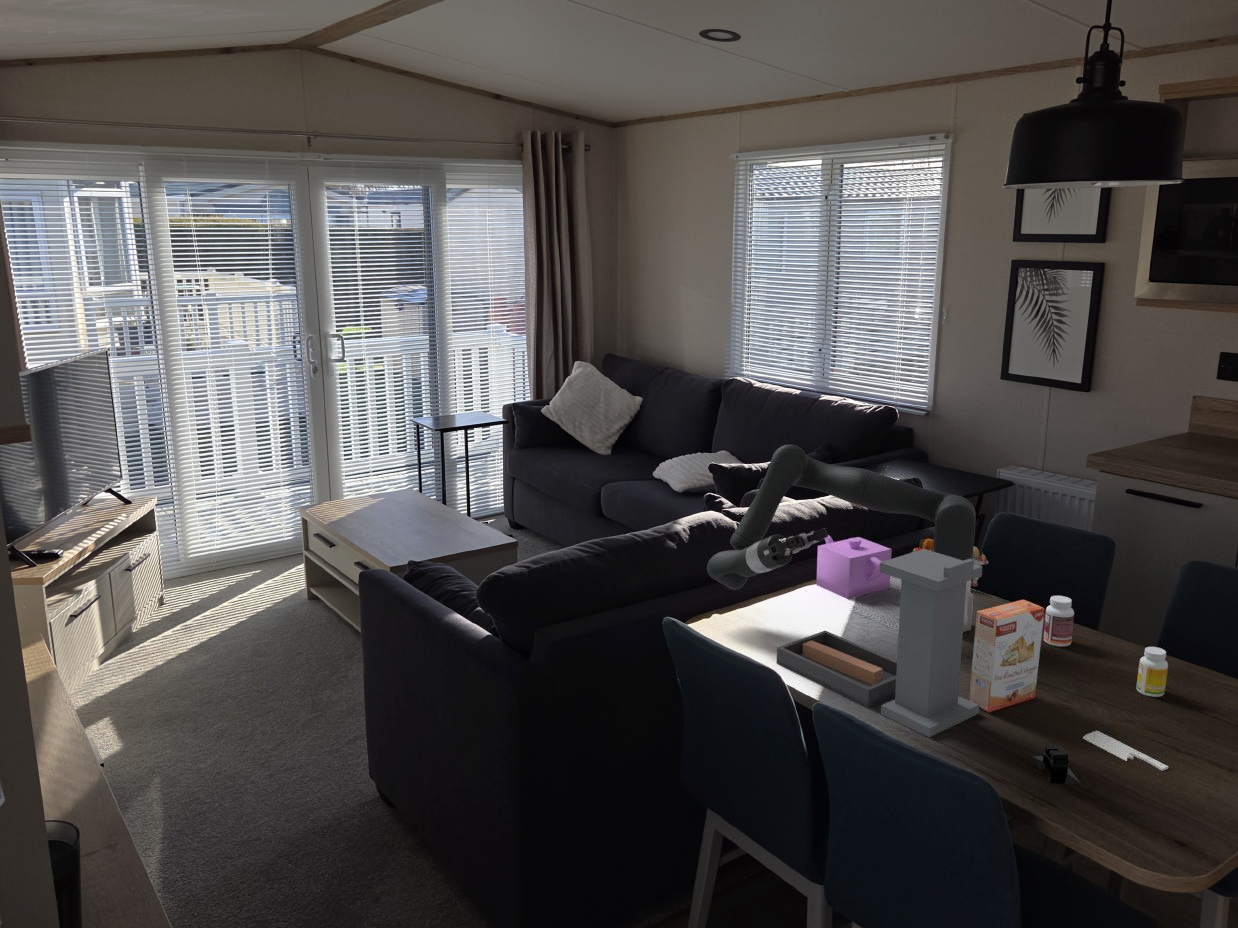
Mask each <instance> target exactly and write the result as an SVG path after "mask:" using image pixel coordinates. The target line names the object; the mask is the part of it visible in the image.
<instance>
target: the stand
mask: <svg viewBox="0 0 1238 928" xmlns="http://www.w3.org/2000/svg"><path fill="white" fill-rule="evenodd" d="M879 572H881V573H884V574H887V575H890V577H894V578H896V579H899V580H901V586H900V599H899V600H900V603H899V604H900V605H899V619H898V620H899V622H898V638H897V639H898V641H897V654H896V655H897V657H896V661H897V672H896V691H895V696H894V699H892V700H891V701H888V702H885V703H883V704H882V705H880V707H881V708H880V715H882V716H884V717H887V718H888V719H891V720H892V721H895V722H897V723H898V724H900V725H903V726H905V727H906V728H909V729H911V730H913V731H915V732H917V733H919V734H921V735H924V737H925V736H926V737H927V738H931V737H933V736H936V735H937V734H939V733H941V732H943V731H945V730H947V729H950V728H952V727H954V726H956V725H958V724H960V723H962V722H964V721H967V720H968V719H971V718H973V717H974V716H977V715H979V711H980V707H979V705H978V704H976V703H974V702H971V701H969V699H967V698H964V697H961V696H959V694H960V693H959V691H960V678H961V677H960V675H961V674H960V673H961V666H962V665H961V664H962V663H961V661H962V650H963V649H962V647H963V638H964V637H963V635H964V632H963V623H964V609H965V595H966V581H969V580H971V581H973V579H975V578H978V577H979V578H981V577H982V576H983V566H982V565H980V566H979V565H976V564H974V560H972V559H967V560H964V561H963V560H959V559H956V558H953V557H949V556H946V555H943V554H939V553H936V552H933V551H929V550H926V549H922V550H919V551H916V552H913V551H911V552H909V553H906V554H904V555H899V556H897V557H896V556H895V557H894V558H891V559H890V560H886V561H883V562H880V571H879ZM980 576H981V577H980ZM979 578H978V579H979Z"/></svg>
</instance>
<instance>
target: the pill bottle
mask: <svg viewBox="0 0 1238 928" xmlns="http://www.w3.org/2000/svg"><path fill="white" fill-rule="evenodd" d="M1072 601H1073V600H1072V599H1071V598H1070V597H1068V596H1063V595H1051V597H1050V599H1049V603H1050V605H1048V606H1047V607H1046V609H1045V615H1044V619H1045V620H1044V629H1043V630H1044V632H1043V641H1044V642H1045V643H1047V644H1048V645H1050V646H1055V647H1060V648H1061V647H1068V646H1070V645H1071V644H1072V640H1073V630H1074V619H1075V611H1074V609H1073V608H1072Z"/></svg>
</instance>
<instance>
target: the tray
mask: <svg viewBox="0 0 1238 928" xmlns="http://www.w3.org/2000/svg"><path fill="white" fill-rule="evenodd" d="M811 640H812V641H814V642H817V643H819V644H822V645H824V646H827V647H829V648H832V649H834V650H837V651H839V652H842V653H844V654H847V655H849V656H852V657H854V658H857V659H860V660H862V661H865V662H867V663H870V664H872V665H875V666H877V667H880V668H882V669H883V670H882V681H881V682H879V683H877V684H874V685H871V684H869V683H867V682H864V681H862V680H859V679H857V678H855V677H852V676H850V675H847V674H845V673H843V672H840V671H838V670H835V669H833V668H831V667H828V666H826V665H823V664H821V663H819V662H816V661H814V660H811V659H809V658H807V657H804V656H803V644H804V643H806V642H809V641H811ZM776 664H777V665H779V666H781V667H783V668H785V669H787V670H790V671H791V672H793V673H796V674H798V675H800V676H801V677H804V678H806V679H808V680H810V681H812V682H814V683H816V684H818V685H820V686H822V687H825V688H827V689H828V690H830V691H833V692H834V693H836V694H839V695H840V696H843V697H845V698H846V699H849V700H851V701H853V702H855V703H857V704H859V705H862V706H863V707H866V708H870V707H873V706H875V705H877V704H879V703H880V704H881V703H882V702H884V701H887V700H889V699H891V698H893V697H894V698H895V691H896V672H897V659H894V658H891V657H888V656H886V655H884V654H882V653H880V652H877V651H874V650H872V649H870V648H868V647H865V646H863V645H860V644H857V643H856V642H853V641H851V640H848V639H846V638H844V637H842V636H839V635H838V634H837V635H836V634H835V633H832V632H830V631H827V630H823V631H820V632H818V633H814V634H811V635H808V636H805V637H802V638H800V639H796V640H794V641H792V642H788V643H786V644H783V645H781V646H777V647H776Z"/></svg>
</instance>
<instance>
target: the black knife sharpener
mask: <svg viewBox="0 0 1238 928" xmlns="http://www.w3.org/2000/svg"><path fill="white" fill-rule="evenodd" d="M1030 759H1032V761H1033V762H1034V764H1035V765H1036V766H1037V768H1038V770H1039V771H1040V772H1041V773H1042V775H1043V776H1044V777H1045V779H1046V780H1047V782H1048V783H1049V784H1053V785H1054V784H1058V785H1059V784H1064V785H1066V784H1068V785H1069V784H1075V785H1077V784H1080V785H1081V781H1080V780H1079V779H1078V777H1077V776H1076V775H1075V774H1074V773H1073V771H1072V770H1071V769H1070V768H1069V763H1070V761H1069V754H1068V752H1067V751H1066V750H1065V749H1064V747H1063V745H1061V744H1044V748H1043V753H1042V755H1030Z"/></svg>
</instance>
